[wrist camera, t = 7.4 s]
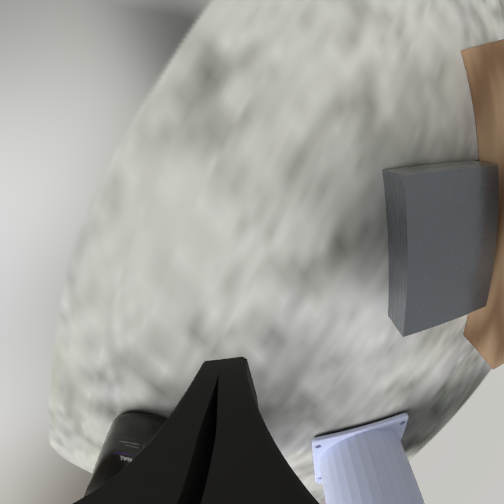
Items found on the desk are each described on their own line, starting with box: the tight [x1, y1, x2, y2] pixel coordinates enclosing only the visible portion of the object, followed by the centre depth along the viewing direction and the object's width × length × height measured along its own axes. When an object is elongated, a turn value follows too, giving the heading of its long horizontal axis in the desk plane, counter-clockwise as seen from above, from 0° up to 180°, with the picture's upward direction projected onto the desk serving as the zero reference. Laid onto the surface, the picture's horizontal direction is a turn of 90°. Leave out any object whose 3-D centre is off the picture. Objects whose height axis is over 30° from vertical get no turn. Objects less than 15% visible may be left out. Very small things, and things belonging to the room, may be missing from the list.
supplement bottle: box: [84, 412, 167, 497], centre depth 13 cm, size 7×7×12 cm
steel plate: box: [383, 160, 499, 337], centre depth 13 cm, size 8×6×2 cm
